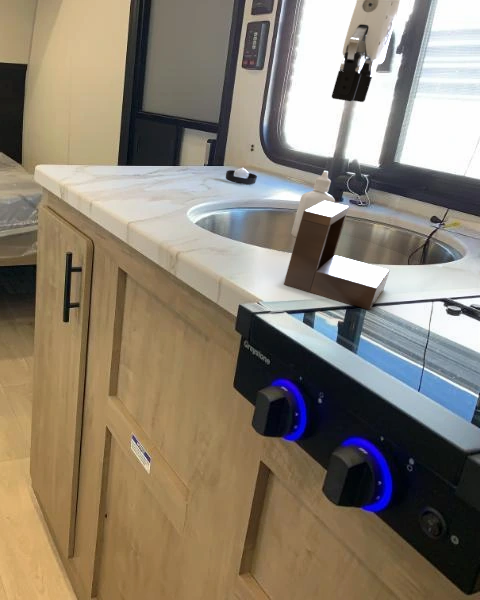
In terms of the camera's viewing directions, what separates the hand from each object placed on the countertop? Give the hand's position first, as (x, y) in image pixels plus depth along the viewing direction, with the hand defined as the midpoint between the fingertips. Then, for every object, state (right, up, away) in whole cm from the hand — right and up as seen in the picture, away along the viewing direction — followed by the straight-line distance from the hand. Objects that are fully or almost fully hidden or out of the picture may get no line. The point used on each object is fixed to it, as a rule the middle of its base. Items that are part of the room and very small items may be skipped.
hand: (348, 100), depth 95 cm
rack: (-8, -30, -13) cm, 34 cm away
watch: (-2, -2, +58) cm, 58 cm away
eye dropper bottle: (-2, -21, +11) cm, 24 cm away
